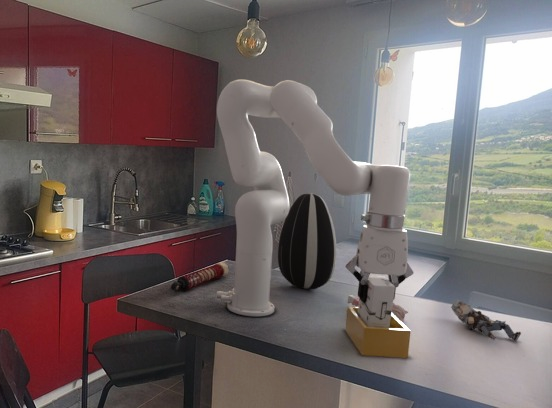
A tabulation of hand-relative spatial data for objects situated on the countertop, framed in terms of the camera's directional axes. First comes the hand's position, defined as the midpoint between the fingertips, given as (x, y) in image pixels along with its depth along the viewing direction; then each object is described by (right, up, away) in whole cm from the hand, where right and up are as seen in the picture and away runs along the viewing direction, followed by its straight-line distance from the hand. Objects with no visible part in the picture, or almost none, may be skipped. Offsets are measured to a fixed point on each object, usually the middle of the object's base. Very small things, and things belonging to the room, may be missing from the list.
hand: (375, 300), depth 102 cm
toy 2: (+30, -10, +12) cm, 34 cm away
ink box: (-1, -7, +1) cm, 7 cm away
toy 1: (+7, -8, +18) cm, 21 cm away
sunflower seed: (-8, -5, +42) cm, 43 cm away
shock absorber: (-40, -3, +40) cm, 57 cm away
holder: (0, -10, +1) cm, 10 cm away
